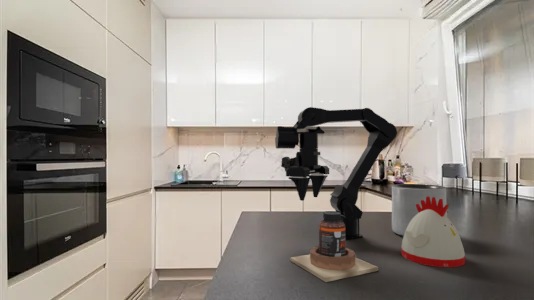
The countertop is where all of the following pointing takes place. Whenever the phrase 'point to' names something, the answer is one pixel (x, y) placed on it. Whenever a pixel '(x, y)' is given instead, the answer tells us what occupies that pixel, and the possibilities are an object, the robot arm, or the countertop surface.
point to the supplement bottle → (332, 235)
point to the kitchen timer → (432, 237)
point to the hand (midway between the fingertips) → (309, 198)
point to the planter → (412, 202)
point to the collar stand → (333, 265)
